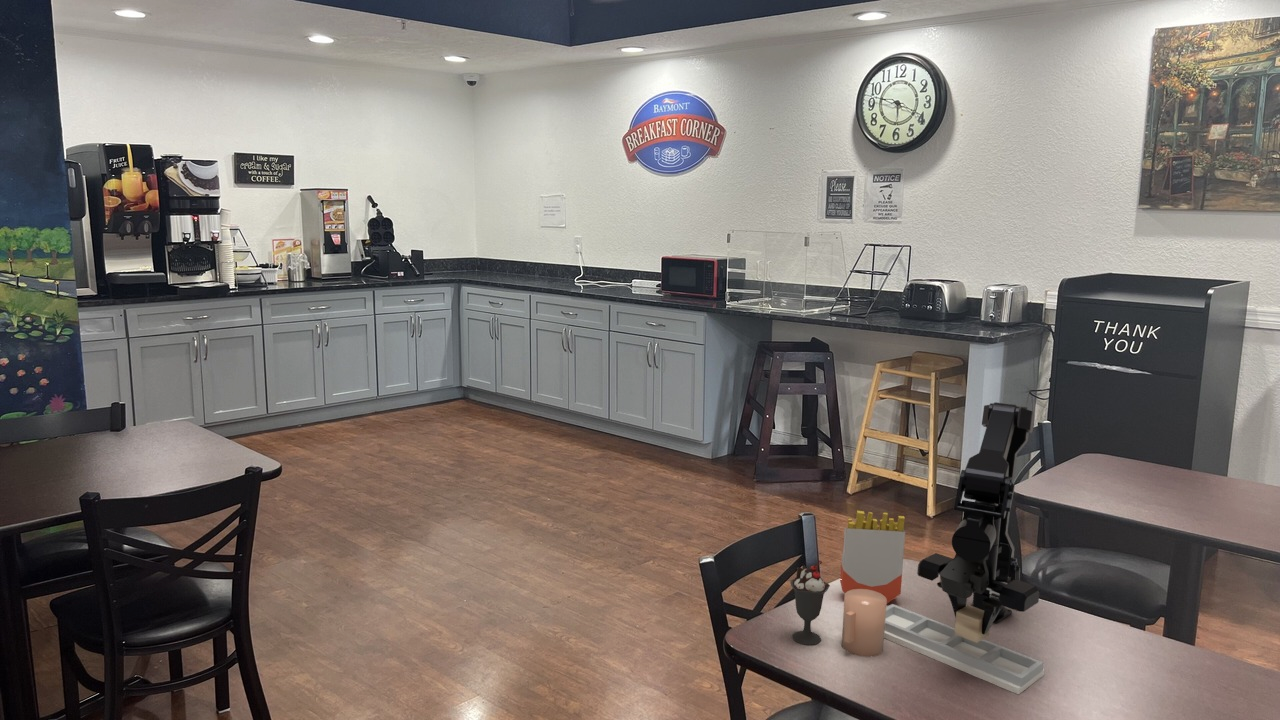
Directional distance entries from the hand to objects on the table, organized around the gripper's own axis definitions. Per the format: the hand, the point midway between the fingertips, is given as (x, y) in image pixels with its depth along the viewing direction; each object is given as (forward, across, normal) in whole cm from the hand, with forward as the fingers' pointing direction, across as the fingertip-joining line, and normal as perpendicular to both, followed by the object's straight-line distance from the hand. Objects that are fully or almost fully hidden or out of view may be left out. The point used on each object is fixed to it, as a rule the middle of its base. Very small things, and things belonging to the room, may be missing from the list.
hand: (972, 628), depth 153 cm
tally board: (+6, -3, 0) cm, 6 cm away
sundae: (+6, -22, -15) cm, 28 cm away
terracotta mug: (+6, -14, -10) cm, 18 cm away
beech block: (+1, 0, 0) cm, 1 cm away
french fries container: (+6, -24, +7) cm, 26 cm away
